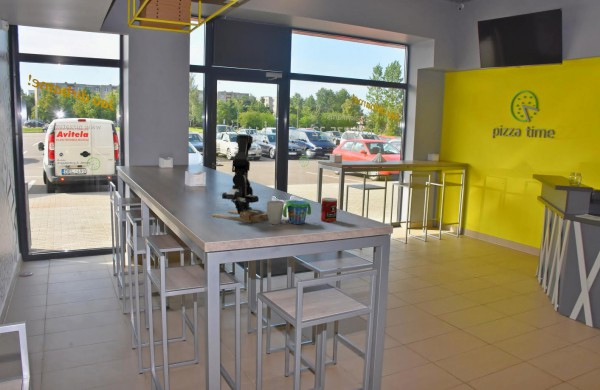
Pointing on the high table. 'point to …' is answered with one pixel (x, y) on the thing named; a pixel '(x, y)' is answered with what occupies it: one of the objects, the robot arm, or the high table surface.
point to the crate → (248, 214)
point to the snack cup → (297, 211)
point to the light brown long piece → (253, 219)
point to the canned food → (328, 209)
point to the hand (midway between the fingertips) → (239, 214)
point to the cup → (275, 211)
